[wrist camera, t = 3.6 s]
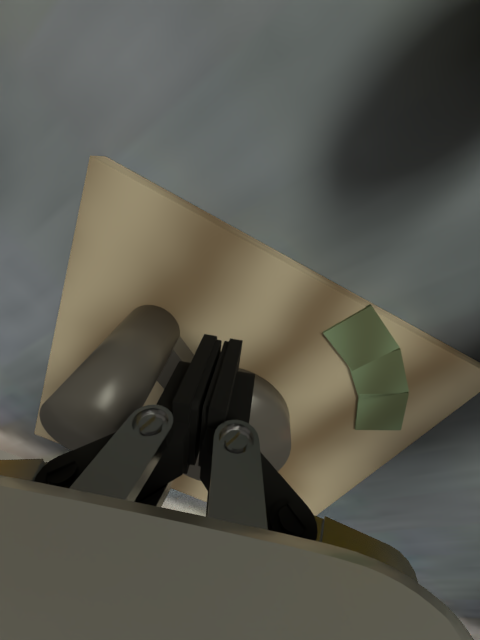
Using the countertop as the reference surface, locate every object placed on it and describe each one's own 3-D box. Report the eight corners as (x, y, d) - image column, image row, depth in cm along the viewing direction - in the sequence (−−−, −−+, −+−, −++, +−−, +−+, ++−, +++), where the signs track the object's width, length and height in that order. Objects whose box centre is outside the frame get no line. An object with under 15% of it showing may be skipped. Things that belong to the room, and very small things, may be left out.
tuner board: (485, 361, 16) (503, 377, 15) (289, 519, 25) (290, 537, 24) (106, 151, 13) (89, 150, 11) (45, 420, 22) (32, 435, 21)
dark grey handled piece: (348, 498, 20) (377, 628, 14) (249, 518, 23) (242, 634, 17) (201, 271, 13) (148, 351, 8) (82, 337, 16) (-24, 433, 10)
